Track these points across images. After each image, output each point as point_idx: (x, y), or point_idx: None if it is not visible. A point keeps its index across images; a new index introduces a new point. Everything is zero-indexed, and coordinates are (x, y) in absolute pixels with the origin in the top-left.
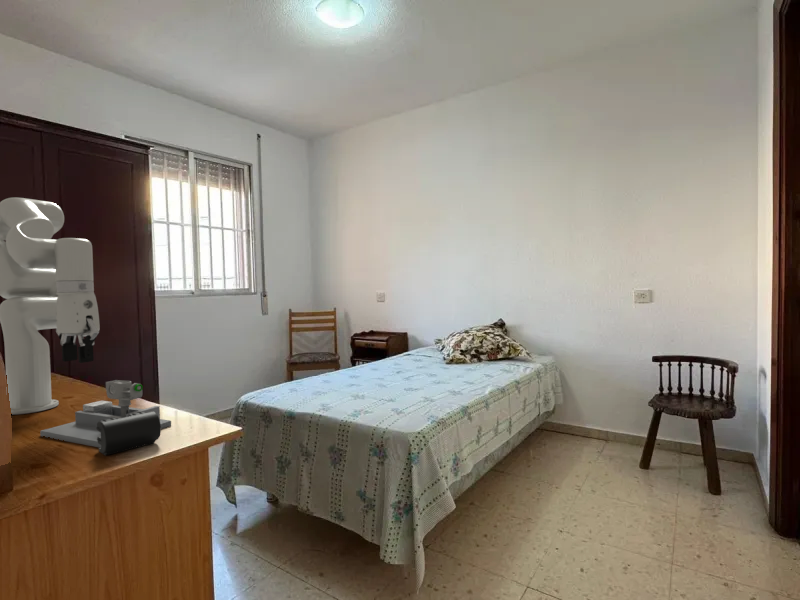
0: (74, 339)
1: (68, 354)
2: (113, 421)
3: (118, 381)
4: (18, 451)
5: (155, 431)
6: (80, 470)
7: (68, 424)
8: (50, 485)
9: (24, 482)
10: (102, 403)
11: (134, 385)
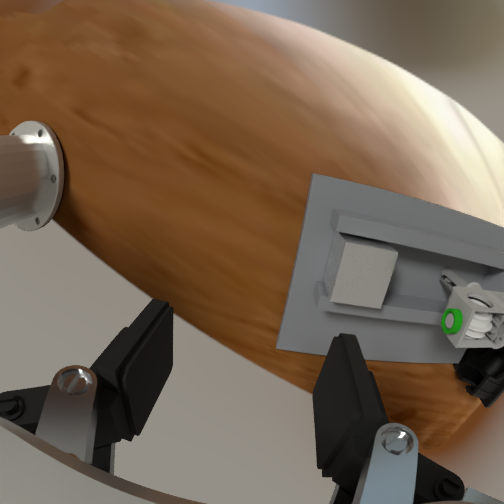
0: (93, 418)
1: (157, 375)
2: (499, 396)
3: (478, 311)
4: None
5: None
6: (460, 405)
7: (299, 301)
8: (449, 429)
9: (419, 436)
10: (382, 276)
11: None
